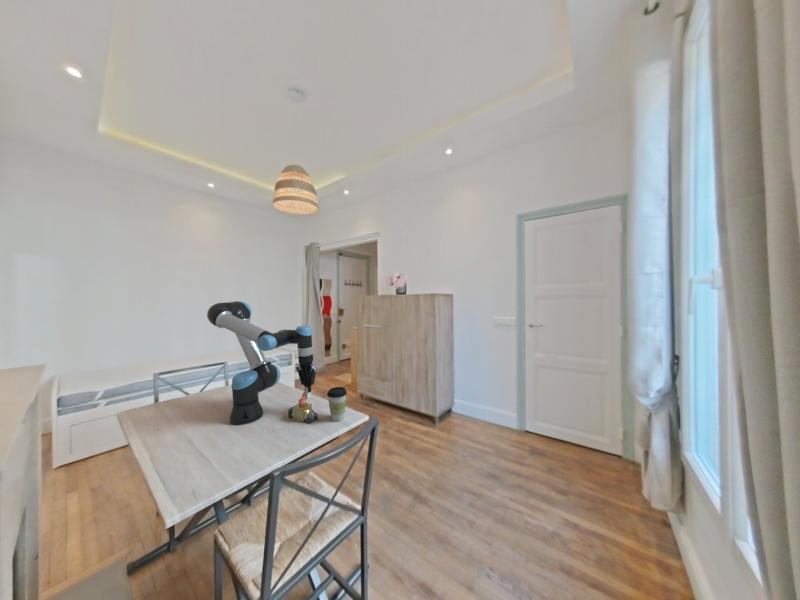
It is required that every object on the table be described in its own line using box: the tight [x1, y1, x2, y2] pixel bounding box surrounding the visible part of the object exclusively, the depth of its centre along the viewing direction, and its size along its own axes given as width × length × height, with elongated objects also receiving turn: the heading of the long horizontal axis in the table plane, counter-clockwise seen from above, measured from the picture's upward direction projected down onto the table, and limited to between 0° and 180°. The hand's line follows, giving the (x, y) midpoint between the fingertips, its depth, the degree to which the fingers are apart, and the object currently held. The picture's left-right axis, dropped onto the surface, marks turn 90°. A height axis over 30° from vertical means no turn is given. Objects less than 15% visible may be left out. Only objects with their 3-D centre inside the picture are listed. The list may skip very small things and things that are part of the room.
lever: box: [298, 391, 307, 406], centre depth 145 cm, size 14×3×3 cm, turn 11°
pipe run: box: [287, 402, 319, 425], centre depth 140 cm, size 16×6×8 cm, turn 65°
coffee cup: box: [326, 386, 348, 423], centre depth 139 cm, size 10×10×15 cm
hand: (308, 397), depth 147 cm, fingers closed
